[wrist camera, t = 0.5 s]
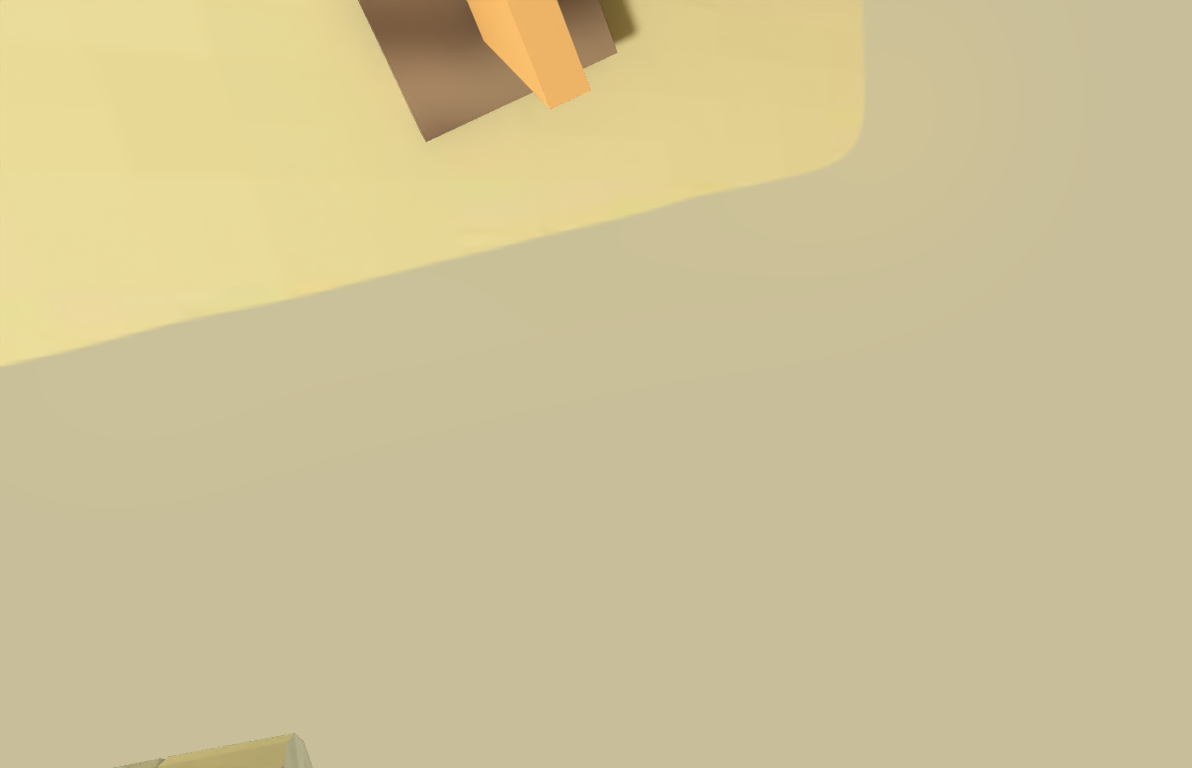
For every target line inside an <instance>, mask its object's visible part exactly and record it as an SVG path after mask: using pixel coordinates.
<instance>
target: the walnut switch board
mask: <svg viewBox="0 0 1192 768" xmlns="http://www.w3.org/2000/svg"><path fill="white" fill-rule="evenodd" d="M358 1H359V3H360V5H361V7H362V9H363V11H364V13H365V16H366V18H367V20H368V22H369V24H370V26H371V28H372V30H373V32H374V35H375V37H376V39H377V41H378V43H379V45H380V47H381V49H382V51H383V54H384V56H385V58H386V60H387V62H388V64H389V66H390V68H391V70H392V73H393V75H394V77H395V79H396V81H397V83H398V85H399V87H400V89H401V92H402V94H403V96H404V98H405V100H406V102H407V104H408V106H409V108H410V111H411V113H412V115H413V117H414V119H415V121H416V123H417V125H418V127H419V130H420V132H421V134H422V136H423V137H424V139H425V141H426V142H427V141H429V140H431V139H434V138H436V137H438V136H440V135H442V134H444V133H446V132H449V131H451V130H453V129H455V128H457V127H459V126H461V125H464V124H466V123H468V122H470V121H472V120H474V119H476V118H479V117H481V116H483V115H485V114H487V113H489V112H491V111H494V110H496V109H498V108H500V107H502V106H504V105H506V104H509V103H511V102H513V101H515V100H517V99H519V98H521V97H524V96H526V95H528V94H530V93H532V92H533V91H532V90H531V89H530V88H529V87H528V86H527V85H526V84H525V83H524V82H523V81H522V80H521V79H520V78H519V77H518V75H517V74H516V73H515V72H514V71H513V70H512V69H511V68H510V67H509V66H508V65H507V64H506V63H505V62H504V61H503V60H502V59H501V58H500V57H499V56H498V55H497V54H496V53H495V52H494V51H493V50H492V49H491V48H490V47H489V46H488V45H487V44H486V43H485V42H484V40H483V38H482V35H481V33H480V31H479V28H478V26H477V23H476V21H475V19H474V16H473V14H472V12H471V9H470V7H469V4H468V2H467V0H358ZM557 2H558V4H559V7H560V10H561V12H562V15H563V17H564V20H565V23H566V25H567V28H568V31H569V33H570V36H571V39H572V41H573V44H574V47H575V49H576V52H577V55H578V57H579V60H580V63H581V65H582V68H586V67H588V66H590V65H592V64H594V63H596V62H598V61H601V60H603V59H605V58H607V57H609V56H611V55H613V54H616V53H617V50H616V47H615V45H614V42H613V39H612V36H611V33H610V31H609V28H608V25H607V22H606V19H605V16H604V14H603V11H602V8H601V5H600V2H599V0H557Z"/></svg>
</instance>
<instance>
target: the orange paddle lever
mask: <svg viewBox="0 0 1192 768" xmlns="http://www.w3.org/2000/svg"><path fill="white" fill-rule="evenodd" d="M467 2H468V4H469V7H470V9H471V12H472V14H473V16H474V19H475V21H476V23H477V26H478V28H479V31H480V33H481V35H482V38H483V40H484V42H485V43H486V44H487V45H488V46H489V47H490V48H491V49H492V50H493V51H494V52H495V53H496V54H497V55H498V56H499V57H500V58H501V59H502V60H503V61H504V62H505V63H506V64H507V65H508V66H509V67H510V68H511V69H512V70H513V71H514V72H515V73H516V74H517V75H518V77H519V78H520V79H521V80H522V81H523V82H524V83H525V84H526V85H527V86H528V87H529V88H530V89H531V90H532V91H533V92H534V93H535V94H536V95H537V96H538V97H539V98H540V99H541V100H542V101H543V102H544V103H545V104H546V105H547V106H548V107H549V108H550V109H552V108H554V107H556V106H558V105H560V104H562V103H564V102H567V101H569V100H571V99H573V98H575V97H577V96H579V95H582V94H584V93H586V92H588V91H590V90H591V89H590V87H589V84H588V81H587V79H586V76H585V73H584V71H583V68H582V65H581V63H580V60H579V57H578V55H577V52H576V49H575V47H574V44H573V41H572V39H571V36H570V33H569V31H568V28H567V25H566V23H565V20H564V17H563V15H562V12H561V10H560V7H559V4H558V2H557V0H467Z"/></svg>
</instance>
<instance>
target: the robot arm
mask: <svg viewBox="0 0 1192 768" xmlns="http://www.w3.org/2000/svg"><path fill="white" fill-rule="evenodd" d="M115 768H313V767H312V764H311V761H310V758H309V756H308V753H307V750H306V747H305V744H304V742H303V740H302V739H301V738H299V737H298V736H297V735H296V734H295V733H293V734H288V735H282V736H276V737H272V738H266V739H260V740H255V741H249V742H245V743H239V744H233V745H228V746H223V747H218V748H212V749H207V750H201V751H196V752H190V753H185V754H179V755H174V756H169V757H167V758H166V759H155V760H150V761H145V762H140V763H135V764H130V765H125V766H120V767H115Z"/></svg>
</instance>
